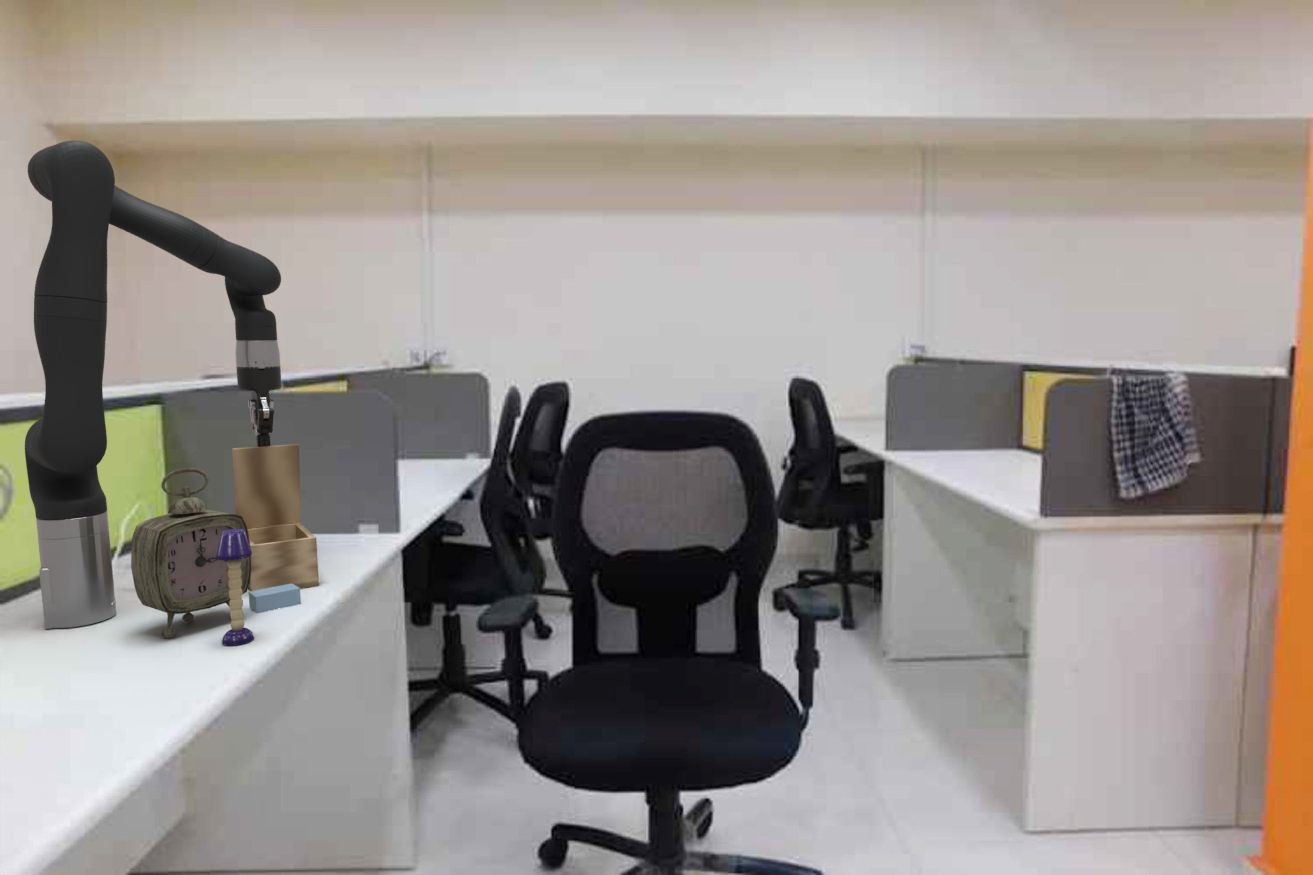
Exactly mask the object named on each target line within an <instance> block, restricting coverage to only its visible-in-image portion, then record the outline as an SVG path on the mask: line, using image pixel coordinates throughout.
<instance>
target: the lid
mask: <svg viewBox="0 0 1313 875" xmlns="http://www.w3.org/2000/svg"><path fill="white" fill-rule="evenodd" d="M232 466H233V469H232V470H233V487H234V488H233V489H234V490H233V491H234V510H235V511H234V512H235V513H234V514H235V515H239V516H242V518H243V520H244V521H245V523H246V526H247V529H248V528H257V527H265V526H273V525H282V524H290V523H302V511H301V508H302V507H301V475H300V474H301V472H300V470H301V469H300V445H299V443H292V444H290V443H289V444H278V445H277V444H276V445H271V446H260V447H257V446H249V447H235V448H234V447H233V448H232Z"/></svg>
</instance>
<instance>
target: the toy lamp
mask: <svg viewBox="0 0 1313 875" xmlns="http://www.w3.org/2000/svg"><path fill="white" fill-rule="evenodd" d="M251 555H252V551H251V548H250V545H249V542H248V539H247V536H246V533H245V531H244V530H243V529H230V530H225V531H223V532H222V533H221V537H220V541H219V546H218V550H217V555H216V558H217V559H218V560H228V561H227V565H228V568H229V570H228V577H229V578H230V579H229V581H228V585H229V588H230V590H229V597H230V599H231V600H230V603H229V605H230V607H229V608H230V611H229V616H230V619H231V620H230V627H231V629H229V630H228V631H226V632H225V633H224V634H223V637H222V640H221V644H222V645H223V646H228V645H232V646H238V644H240V645H244V644H247V643H250V642H253V640H255V636H254V633H253V631H252V630H251V629H250V628H248V627H244V626H245V621H244V615H245V614H244V609H243V607H244V600H243V598H242V597H243V595H242V593H243V592H242V589H241V585H242V580H241V578H240V577H241V569H240V565H241V559H244V558H248V557H250V556H251ZM249 641H250V642H249ZM243 643H244V644H243Z"/></svg>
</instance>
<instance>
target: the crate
mask: <svg viewBox="0 0 1313 875" xmlns="http://www.w3.org/2000/svg"><path fill="white" fill-rule="evenodd" d="M247 530H248V534H249V541H250V547H251V551H252V555H251V578H250V584H249V587H248V592H250V591H256V590H261V589H266V588H271V587H276V586H281V585H286V584H291V583H292V584H294V585H296V586H297V587H299V588H300V590H301V589H302V590H303V589H307V588H308V589H309V588H314V587H319V586H320V581H319V580H320V579H319V565H318V564H319V563H318V559H319V558H318V548H317V546H318V544H317V543H318V542H317V537H316V536H315V535H314V534H313V533H311V531H310V530H308V529H307V528H306V526H304V525H303V524H302V522H298V523H294V524H286V525H278V526H269V527H261V528H252V529H247Z"/></svg>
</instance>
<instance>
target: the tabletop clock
mask: <svg viewBox="0 0 1313 875" xmlns="http://www.w3.org/2000/svg"><path fill="white" fill-rule="evenodd" d="M184 473H197V474H200V475H201V476H203V478H204V480H205V481H204V483H203V484H202V485H201V486H199V487H196V488H194V489H191V487H190V486H189V485H184V486H182V488H181V489H182V490H181V491H172V490H169V489H167V488H166V483H167V481H168V480H169V479H171V477H173V476H175V475H180V474H184ZM209 480H210V479H209V476H208V474H207V472H205V471H204V470H202V469H200V468H197V467H185V468H178V469H173V471H170V472H169V473H167V474H166V475H165V476H164V477H163V478H162V481H161V485H160V486H161V489H162V491H163V492H164V493H165V494H167V495H169V496H174V497H179V498H177V499H175V500H174V501H173V502H172V503H171V505H169V507H168V512H167V514H163V515H158V516H155V517H152V518H149V519H146V520H144V521H141V522H140V523H138V524H137V525H136V526H135V528H134V531H133V534H132V536H131V537H132V538H131V545H130V547H131V548H130V550H131V551H130V553H131V554H130V558H131V559H130V568H131V574H132V579H133V586H134V589H135V592H136V593H135V594H136V596H137V599H138V600H139V601H140V604H142V606H144V607H147V608H150V609H151V608H152V609H153V610H157V611H161V612H163V613H166V615H167V619H166V627H164V628H163V629H162V630H161V636H162V638H165V639H169V638H172V637H173V636H174V635H175V629H174V628H173V627H172V625H173V621H174V619H175V618H174V617H175V615H183V616H182V618H181V619H182V621H183V622H184V623H185V624H190V623H192V622H193V620H194V619H195V616H194V614H193V612H198V611H202V610H207V609H211V608H214V607H217V606H220V605H223V604H226V605H227V606H228V608H230V605H229V603H230V600H231V599H230V597H229V590H230V588H229V585H228V581H229V579H230V578H229V577H228V570H229V568H228V565H227V561H228V560H218V559H217V558H216V555H217V550H218V546H219V541H220V537H221V533H222V532H223V531H225V530H230V529H243V530H244V531H245V533H246V536H247V539H248V542H249V545H250V541H249V534H248V530H247V526H246V523H245V521H244V520H243V518H242V516H239V515H236V513H234V514H233V513H229V512H223V511H217V510H212V509H207V505H206V504H205V503H204V501H203V500H202V499H201V498H199V497H196V496H192V495H195V494H198V493H200V492H201V491H203V490H204V489H205V488H206V487H207V486H208V484H209ZM250 548H251V547H250ZM240 569H241V577H240V578H241V580H242V585H241V589H242V592H243V593H242V596H243V595H244V594H245V593H248V591H249V589H248V587H249V584H250V578H251V556H250V557H248V558H244V559H241V565H240Z"/></svg>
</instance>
